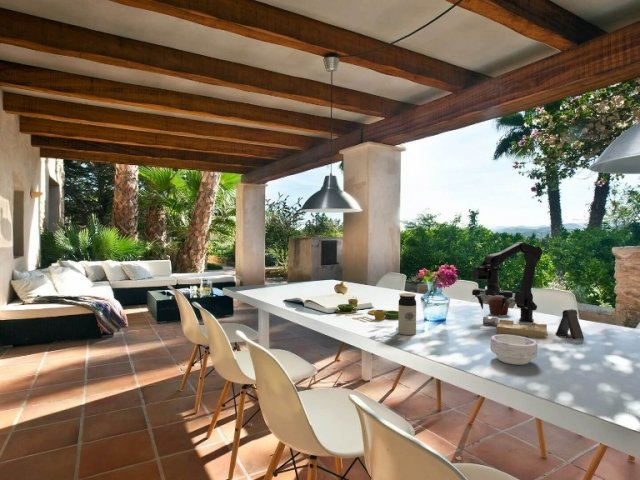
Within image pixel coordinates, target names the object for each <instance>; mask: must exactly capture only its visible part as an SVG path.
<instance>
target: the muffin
mask: <svg viewBox="0 0 640 480" xmlns="http://www.w3.org/2000/svg"><path fill="white" fill-rule="evenodd" d="M502 298H503V296H500V295H495V296H492V297H490V298H489V299H488V301H487V304H488V308H489V314H490V313H491V315H492V314H493V315H494V316H499V315H501V316H502V315H506V316H507V315H508V313H509V308H510V307H509V306H510V304H511V303H510V301H509V299H507V300H506V302H505V305H504V307H503V310H502V311H501V306H502ZM493 315H492V316H493ZM502 317H503V316H502Z"/></svg>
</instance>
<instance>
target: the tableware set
mask: <svg viewBox="0 0 640 480" xmlns="http://www.w3.org/2000/svg"><path fill="white" fill-rule="evenodd" d="M347 300H348V303H342V304H337V305H336V306H337V307H336V308H339V309H340V310H338V309H335V310H334V311H335V312H336V313H338V314H342V315H343V314H345V315H344V317H351V316H358V315H359V317H352V318H351V319H352V320H357V321H359V322H363V323H367V322H369V323H370V322H371V323H372V321H373V322H377V321H384V320H385V317H386V319H390V320H396V319H397V320H398V310H385V309H371V310H368V311H367V313H368V314H370V315H372V316H374V319H373V318H370V317H369V316H362V317H361V315H363V313H362V312H361V313H357V312H358V309H357V308H358V302H359V299H357V298H348V299H347ZM354 307H357V308H356V309H353V308H354Z"/></svg>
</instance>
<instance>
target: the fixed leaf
mask: <svg viewBox="0 0 640 480" xmlns="http://www.w3.org/2000/svg"><path fill="white" fill-rule="evenodd" d="M547 325H548V324H546V323H536V322H531V325H527V324H526V325H525V324H524V325H523V324H517V323H516V324H515V323H514V320H507V319H499V323H498V324H497V326H495V328H496V330H495V333H496V334H500V335H515V336H521V337H526V338H536V339H546V338H547V332H548V328H547V327H548V326H547Z"/></svg>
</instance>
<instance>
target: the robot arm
mask: <svg viewBox="0 0 640 480" xmlns="http://www.w3.org/2000/svg"><path fill="white" fill-rule="evenodd" d="M519 252H520V253H523V258H524V260H525V263H524V264H525V265H524V269H523V275H522V278H521V279H522V280H521V283H520V284H521V285H520V289H519V290H515V292H513V291H512V290H503V291H501V287H500V285H499V272H500V271H501V272H502V271H503V269H502V268H501V267H500V265H502V264H503V263H504V262H505V260H506V259H508V258H510V257H512V256H514V255H516V254H518V253H519ZM542 255H543V249H542V248H541V247H540V246H538V245H537V246H534V245H531V244H528V243H526V242H523V241H517V242H515V243H514V244H512V245H511V246H509V247H506V248H504V249H502V250H501V251H499V252H495V253H491V254H490V253H489V254H487V255H485V257H484V259H483V261H482V263H481V264H480V266H474V268H473V269H472V271H471V278H472V279H473V281H486V282H485V287H484V290H482V288H474V289H472V291H471V295H472V296H474V297H475V298H477V300H478V302H479V304H480V307H481V309H482V310H484V299H483V297H484V296H483V295H485V296H492V297H494V296H501V297H503V298H502V306H501V311H502V310H503V307H504V305H505V302H506V300H510V299H512V298H513V299H514V302H515V304H516V308H517V309H520V318H519V319H518V321H519V322H528V323H530V322H531V323H534V321H535V319H534V318H533V315H534V314H533V313H534V311H537V309H538V306H537V304H536V303H535V302H534V295H533V292H532V287H533V281H534V276H535V272H536V266H537V264H538V262H539V261H540V260H541V258H542ZM513 293H514V296H513Z"/></svg>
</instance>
